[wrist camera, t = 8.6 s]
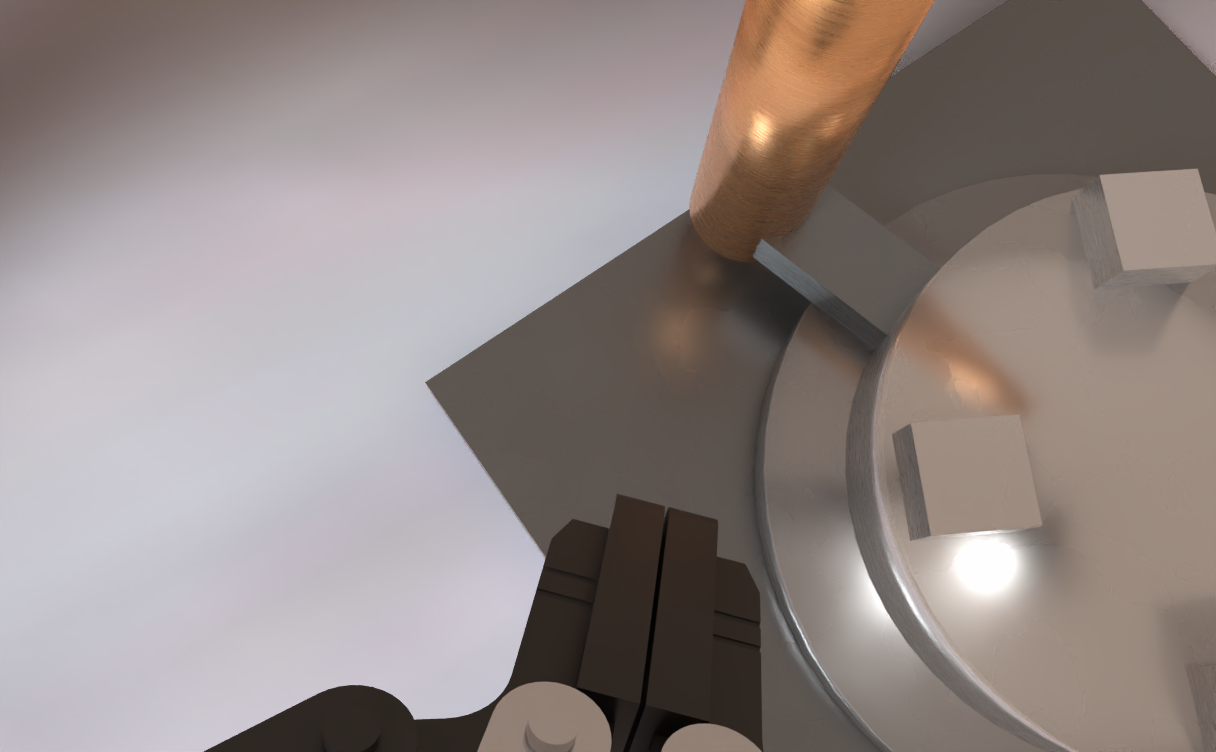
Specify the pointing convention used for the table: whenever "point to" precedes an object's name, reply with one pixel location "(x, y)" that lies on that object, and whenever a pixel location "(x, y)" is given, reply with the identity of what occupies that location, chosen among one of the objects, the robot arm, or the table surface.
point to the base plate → (724, 318)
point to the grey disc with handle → (1000, 398)
